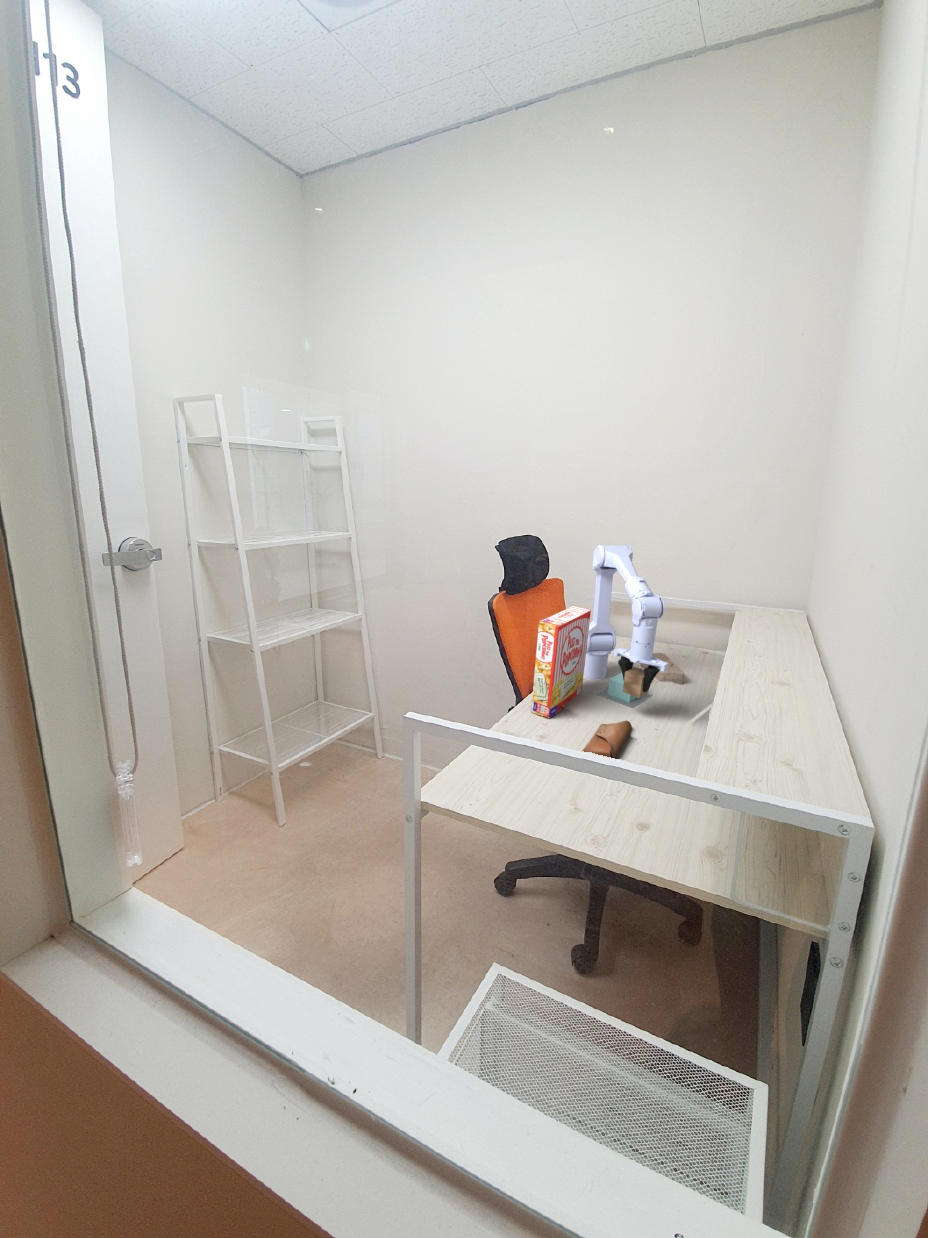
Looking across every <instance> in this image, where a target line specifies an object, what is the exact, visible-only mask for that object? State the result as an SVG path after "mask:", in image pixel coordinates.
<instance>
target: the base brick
mask: <svg viewBox="0 0 928 1238" xmlns="http://www.w3.org/2000/svg"><path fill="white" fill-rule="evenodd" d="M623 684H624V680H623V674H622V672H620V673H619V674H616V675H614V676H613V677H610V678H609V682H608V687H609V689H608V695H611V696H614V697H616V698H619V699H621V700H624V701H627V702H631V701H632V700H634V699H635V698H637V697H635V696H632V695H629V694H627V693H624V692H623Z"/></svg>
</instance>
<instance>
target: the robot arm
mask: <svg viewBox="0 0 928 1238" xmlns="http://www.w3.org/2000/svg"><path fill="white" fill-rule="evenodd" d="M633 552H634V551H633V549H632V547H631V546H630V544H623V545H621V544H619V545H618V544H617V545H616V544H611V545H609V544H608V545H607V544H606V545H603V544H598V545H597V546H596V547H595V549H594V550H593V555H592V570H593V571H596V573H595V575H596V576H595V588H594V599H593V600H594V602H593V611H592V612H593V613H592V621H590V623H589V632H588V640H587V649H586V657H585V666H584V675H583V677H586V678H587V679H592V680H603V679H606V676H607V671H608V670H607V669H608V660H609V655H610V654H611V653H612V651H613V657H615V658H616V657H620V658H619V659H618V661H617V664H618V665H619V667H620V671H621V673H622V674H623V680H624V677H625V672H626V671H628V670H629V669H631V668H633V667H634V664H640V665H641V664H644V665H647V666H648V667H647V668H645V669H644V668H643V670H644V685H643V692H647V691H648V690H650V687H651V685H652V683H653V681H654V679H656V678H655V676H656V675H657V673H658V672H659V671H662V672H665V671H666V670H667V669H668V663H666V662H663V661H661V660H659V659H657V658H655V657H653V656H652V654H653V653H654V647H655V638H656V633H657V625H658V621H659V619H661V618H662V617H663V615H664V614H665V613H664V612H665V604H664V600H663V597H662V596H660V595H657V594H656V593H653V592H652V590H651V588H650V586H649V585H648V583H647V581H646V580H645V578H644V577H642V576H639V575H638V573H637V571H636V568H635V566H634V564H633V559H634V556H633V555H634V554H633ZM617 572H618V573H619V574H620V576H621V577H622V579H623V580H624V583H625V584H624V590H625V592H626V594H627V596H628V598H629V600H630V602H631V603H632V604H631V614H632V617H631V620H632V623H633V626H632V634H631V643H630V649H625V648H621V647H617V648H616V646H617V638H616V629H615V628H614V627H613V626H612V625H611V624H610V612H611V603H612V590H613V578H614V574H615V573H617ZM648 692H649V691H648Z"/></svg>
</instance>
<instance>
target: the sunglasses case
mask: <svg viewBox="0 0 928 1238" xmlns="http://www.w3.org/2000/svg"><path fill="white" fill-rule="evenodd" d="M632 729H633V725H632V723H631V721H629V720H622V721H618V722H615V723H614V722H613V723H606V724H604V723H603V724H600V725H599V726H598V728H597V730H596V731H595V733H594V734H593V735H592V737H591V739H590V740H589V741H588V743H587V744H586V745H585V746H584V747H583V749H582V750H581V752H582V751H584V752H592V753H595V754H598V755H603V756H607V757H611V758H615V759H617V758H618V755H619V754H620V752H621V751H622V748H623V747H624V745H625V743H626V741H627V739H628V737H629V736H630V734H631V732H632V731H633V730H632Z"/></svg>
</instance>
